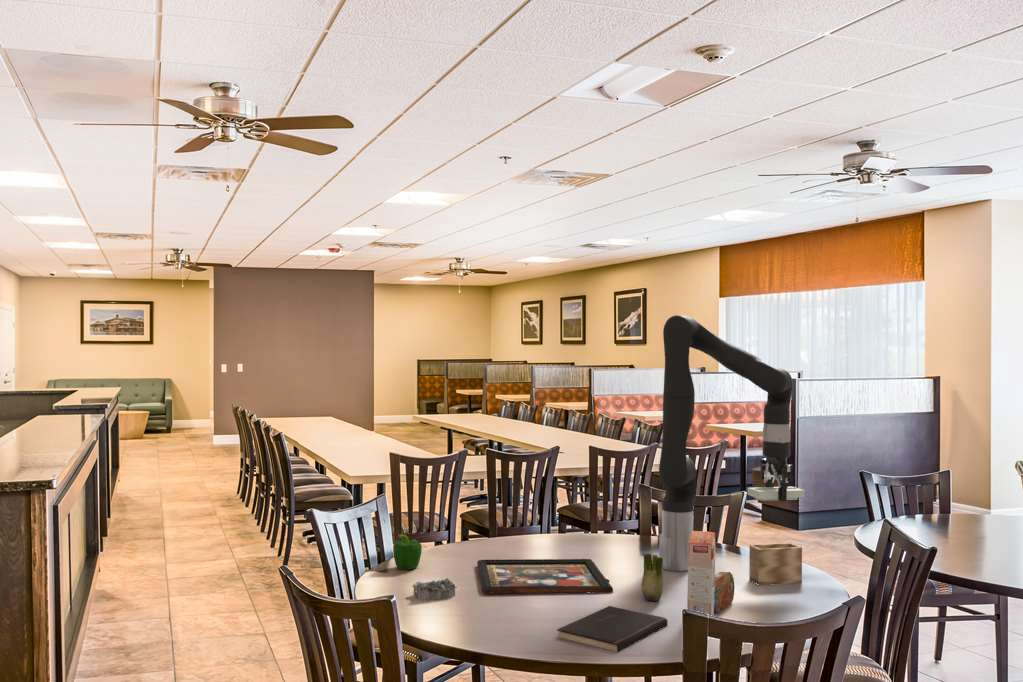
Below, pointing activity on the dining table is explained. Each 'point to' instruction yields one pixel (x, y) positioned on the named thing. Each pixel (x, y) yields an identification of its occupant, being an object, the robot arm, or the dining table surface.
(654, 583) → the fennel bulb
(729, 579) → the tin
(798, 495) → the lid
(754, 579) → the oak box
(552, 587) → the framed icon painting
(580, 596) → the dining table surface
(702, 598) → the cracker box
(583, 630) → the hardcover book
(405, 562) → the bell pepper
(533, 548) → the dining table surface
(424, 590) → the egg carton
